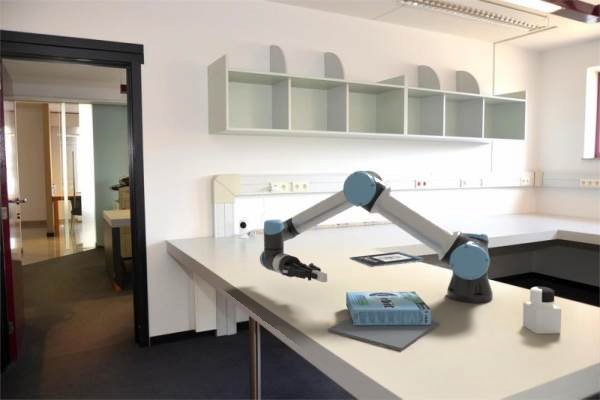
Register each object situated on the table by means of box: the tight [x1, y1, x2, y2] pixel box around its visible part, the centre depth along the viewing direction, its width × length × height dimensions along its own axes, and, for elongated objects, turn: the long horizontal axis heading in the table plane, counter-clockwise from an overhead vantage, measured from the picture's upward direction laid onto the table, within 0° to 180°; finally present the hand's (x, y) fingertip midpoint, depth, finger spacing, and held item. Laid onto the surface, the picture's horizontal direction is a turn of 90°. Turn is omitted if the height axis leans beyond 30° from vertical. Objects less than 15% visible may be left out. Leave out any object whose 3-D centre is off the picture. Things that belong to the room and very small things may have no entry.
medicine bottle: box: [522, 286, 562, 335], centre depth 128 cm, size 7×7×12 cm
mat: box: [327, 317, 439, 352], centre depth 131 cm, size 23×24×1 cm
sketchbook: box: [349, 250, 424, 268], centre depth 227 cm, size 22×30×2 cm
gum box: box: [345, 291, 432, 325], centre depth 140 cm, size 20×5×23 cm
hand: (325, 278), depth 145 cm, fingers closed
